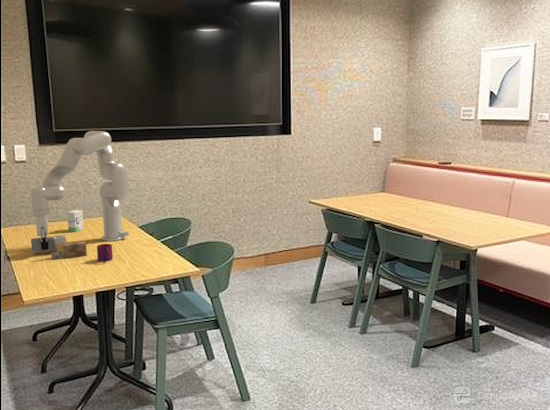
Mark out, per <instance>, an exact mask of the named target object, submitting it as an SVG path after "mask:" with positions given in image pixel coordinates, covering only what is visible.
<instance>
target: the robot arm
mask: <svg viewBox="0 0 550 410" xmlns="http://www.w3.org/2000/svg"><path fill="white" fill-rule="evenodd" d="M111 144H112V136H111V135H110V133H109V132H107V131H104V130H103V131H101V130H98V131H97V130H90V131H87V132H86V133H85V134H84V135H83V137H73V138H70V139H69V140H68V142H67V143H66V145H65V148H64V150H63V151H62V153H61V156H60V158H59V160H58V161H57V163H56V164H55V165H54V167H52V168H51V170H50V171H49V172H48V173H47V174H46V176H45V177H44V179H43V182H42V184H41V186H34V187H31V188H30V200H31V201H30V202H31V210H32V216H33V217H34V218H35V225H36V226H35V228H36V235H37V237H39V236H40V238H41V249H42V250H46V249H49V247H48V241H47V237H48V235H49V220H48V216H49V215H50V213H51V212H50V203H49V201H60V200H62V199H64V198H65V196H66V193H67V192H66V189H65V188H64V187H63V186H61V185H59V184H60V182H61V181H62V179H63V178H64V177H67V175H70V174H71V173H73V172H74V171H75V169H76V167H77V165H78V163H79V161H80V159H81V157H82V156H87V155H91V154H93V153H96V155H97V164H98V170H99V175H100V177H101V178H102V179H104V180H109V181H104V182H103V183H102V184H101V185H100V187H99V196H100V200H101V206H102V220H103V235H102V236H101V240H102V241H105V242H112V241H113V242H115V241H121V240H124V239H125V238H126V237H127V236H128V237H129V236H130V232H129V231H125V229H122V228H123V227H122V211H121V210H122V208H121V207H122V206H121V202H120V201H123V200H126V199H127V197H128V196H129V182H128V181H129V180H128V174H127V169H126V167H125V166H124V165H123V164H122V163H120V162H116V160H115V154H114V149H113V148H112V145H111Z"/></svg>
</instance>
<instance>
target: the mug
mask: <svg viewBox="0 0 550 410" xmlns="http://www.w3.org/2000/svg"><path fill="white" fill-rule="evenodd" d="M96 253H97V255H96V256H97V261H98V262H110V261H113V259H114V257H113V245H112V244H111V243H104V244H103V243H102V244H101V243H100V244H97V246H96Z"/></svg>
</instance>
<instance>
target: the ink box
mask: <svg viewBox="0 0 550 410" xmlns="http://www.w3.org/2000/svg"><path fill="white" fill-rule="evenodd" d="M67 223H68V224H67V225H68V226H67V227H68V232H71V233H76V232H80V231H82V230H84V215H83V209H73V210H70V211H68V212H67Z"/></svg>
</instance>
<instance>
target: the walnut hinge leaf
mask: <svg viewBox="0 0 550 410" xmlns="http://www.w3.org/2000/svg"><path fill="white" fill-rule="evenodd" d="M62 244H63V250H60V251H58V247H57V245H58V244H56V239H52V246H53V250H52V252H50V257H51V260H56V259H62V258H65V259H66V258H67V259H68V258H76V257H85V256H86V257H87V244H86V241H82V242H81V241H80V242H71V243H69V242H68V243H62Z"/></svg>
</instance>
